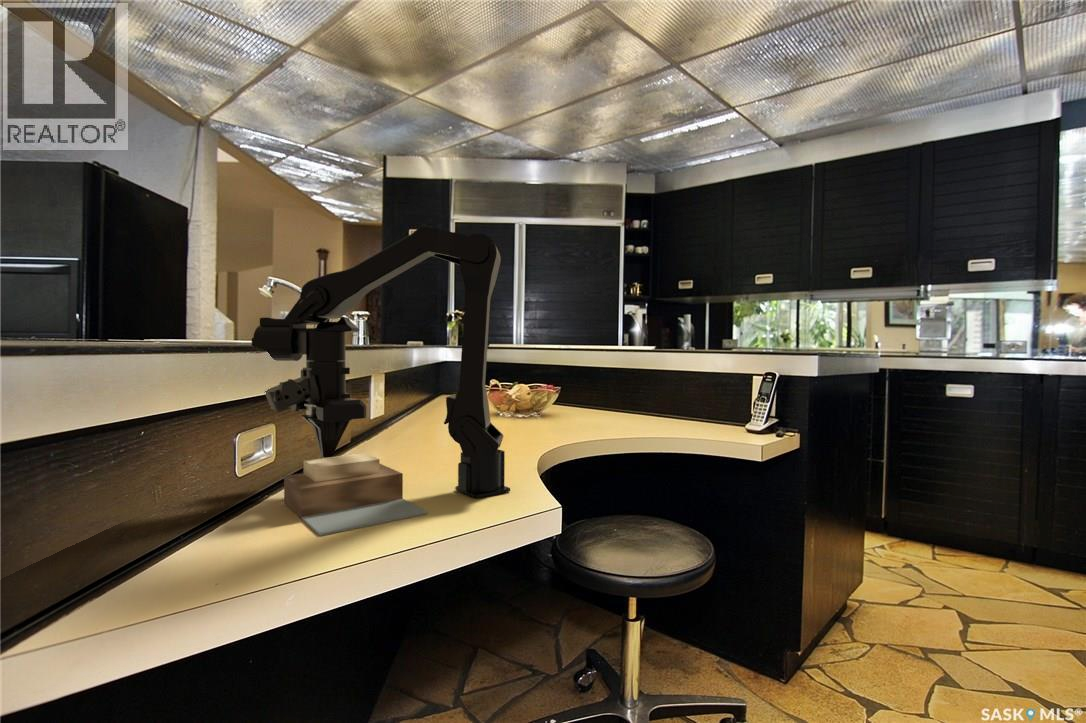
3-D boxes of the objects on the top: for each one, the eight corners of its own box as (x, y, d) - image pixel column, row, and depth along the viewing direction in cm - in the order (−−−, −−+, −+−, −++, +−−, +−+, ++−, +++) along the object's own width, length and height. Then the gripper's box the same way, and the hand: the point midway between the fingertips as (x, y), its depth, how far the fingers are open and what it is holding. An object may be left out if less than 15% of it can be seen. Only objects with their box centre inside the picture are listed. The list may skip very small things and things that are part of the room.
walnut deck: (378, 487, 85) (378, 463, 84) (402, 500, 78) (402, 473, 77) (284, 503, 76) (284, 475, 76) (301, 519, 69) (301, 488, 69)
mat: (402, 500, 78) (402, 498, 78) (427, 513, 71) (427, 511, 71) (301, 519, 69) (301, 516, 69) (319, 536, 62) (319, 533, 62)
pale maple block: (364, 465, 82) (364, 453, 82) (379, 472, 78) (379, 459, 78) (303, 474, 77) (303, 460, 77) (315, 482, 72) (315, 467, 72)
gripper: (256, 360, 85) (257, 457, 85) (285, 362, 70) (286, 479, 71) (327, 360, 92) (328, 449, 92) (367, 362, 77) (367, 467, 78)
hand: (326, 460), depth 83 cm, fingers closed
